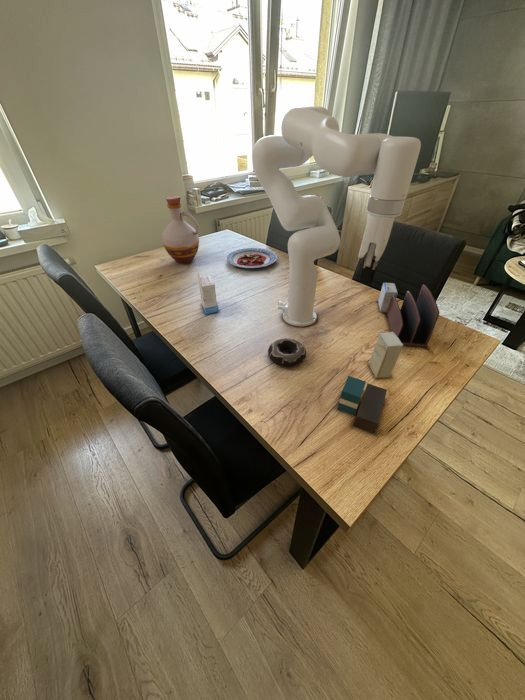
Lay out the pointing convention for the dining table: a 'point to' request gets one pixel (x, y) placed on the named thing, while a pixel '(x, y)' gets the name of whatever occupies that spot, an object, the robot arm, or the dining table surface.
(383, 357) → the cosmetic box
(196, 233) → the jug
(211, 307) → the ink box
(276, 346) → the donut
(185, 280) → the dining table surface
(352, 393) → the teal carton
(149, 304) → the dining table surface
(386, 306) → the medicine box
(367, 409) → the dark block
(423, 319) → the letter holder
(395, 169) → the robot arm
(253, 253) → the ceramic plate
